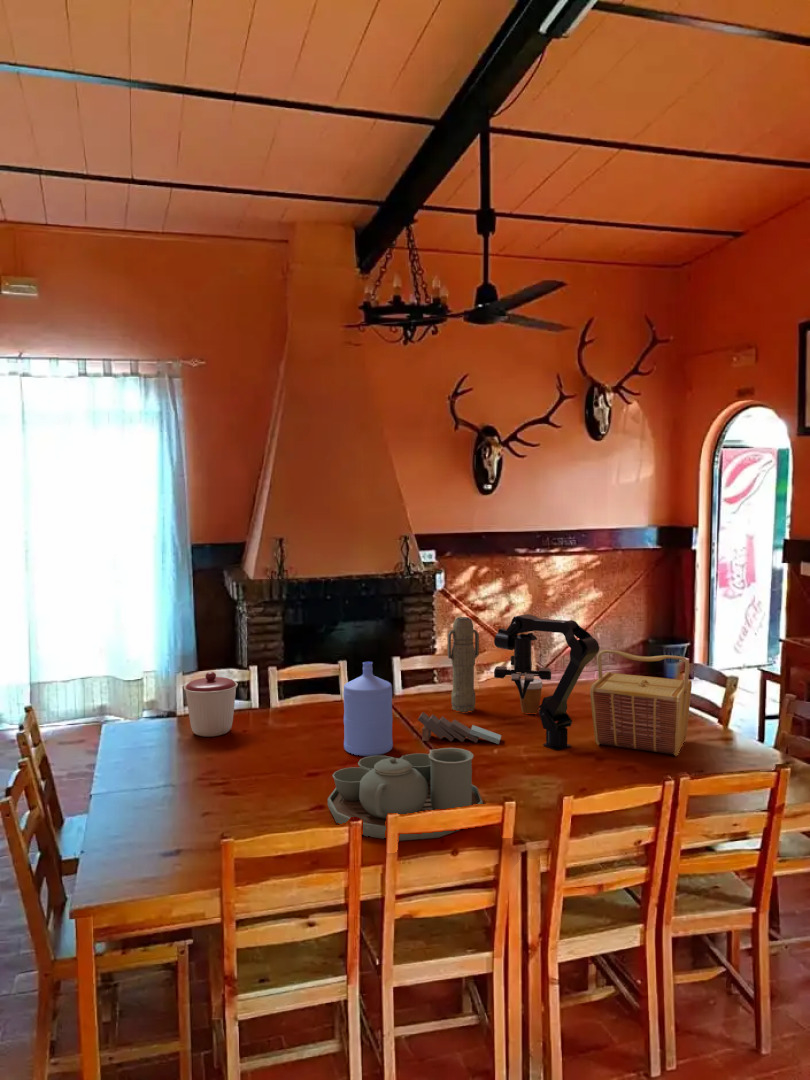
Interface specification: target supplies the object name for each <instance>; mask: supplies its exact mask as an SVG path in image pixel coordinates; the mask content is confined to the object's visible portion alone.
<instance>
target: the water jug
mask: <svg viewBox="0 0 810 1080" xmlns="http://www.w3.org/2000/svg"><path fill="white" fill-rule="evenodd" d="M373 664H374V663H373V661H363V662H362V674H361V675H360V676H357V677H356V678H354V679H352V680H350V681H348V682H346V683H344V685H343V694H342V695H343V696H342V697H343V710H344V711H343V712H344V713H343V725H344V727H343V728H344V730H343V733H344V736H343V737H344V739H343V749H344V750H345V751H346V752H347V753H348V754H350V753H351V755H353V754H354V755H355V756H358V755H359V756H360V757H370V756H382V755H384V754H386V753H389V752H390V751H391V750H392V749H393V746H394V742H393V740H394V739H393V718H394V717H393V685H392V683H391V682H389V681H388V680H385V679H383V678H380V677H379V676H375V674H374V673H373ZM359 756H358V757H359Z"/></svg>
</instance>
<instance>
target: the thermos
mask: <svg viewBox="0 0 810 1080" xmlns="http://www.w3.org/2000/svg"><path fill="white" fill-rule="evenodd" d="M452 634H453V635H452ZM452 638H453V642H452ZM452 643H453V644H452ZM479 643H480V634H479V632H478V631H477V630H476V629H474V623H473V620H472V619H471V618H470V617H469V616H468V617H466V616H458V617H457V618H456V617H455V619H454V622H453V625H452V629H451V630H449V631H448V633H447V658H448V659H451V665H452V690H451V706H452V707H451V710H452V709H453V710H456V711H460V712H468V711H473V710H474V709H475V710H476V708H475V707H476V706H475V705H476V692H475V671H474V670H475V665H476V658H478V657H479V656H480V644H479Z"/></svg>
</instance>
